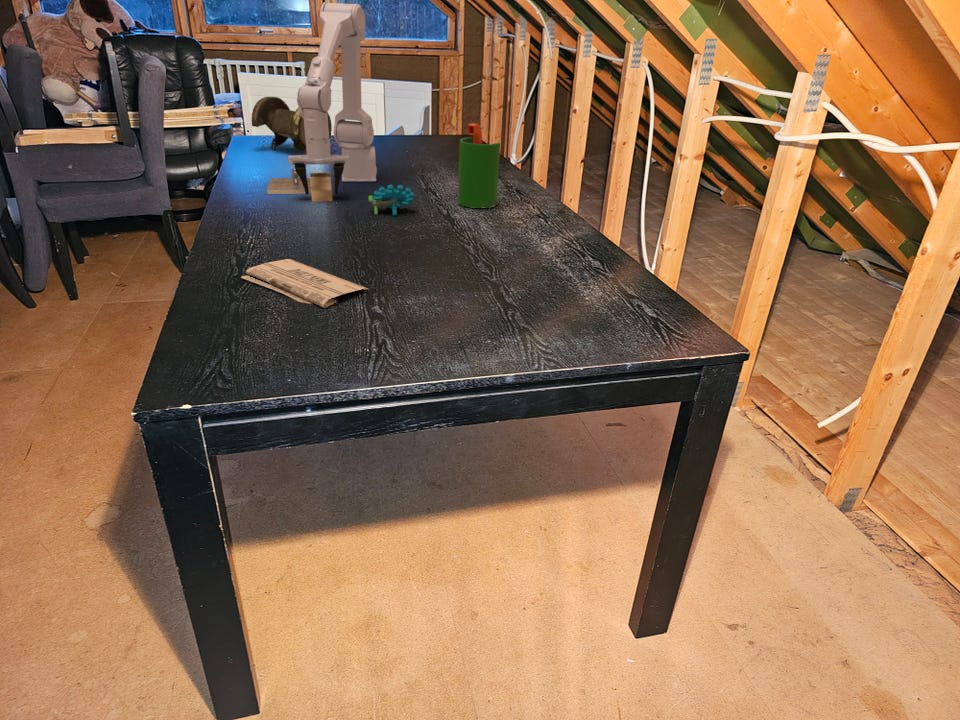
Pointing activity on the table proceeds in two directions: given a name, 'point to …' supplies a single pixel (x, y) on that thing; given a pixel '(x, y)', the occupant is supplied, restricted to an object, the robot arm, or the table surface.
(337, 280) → the newspaper
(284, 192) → the base plate
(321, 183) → the hollow square block
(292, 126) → the bench grinder
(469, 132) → the green cylindrical container
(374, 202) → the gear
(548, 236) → the table surface
